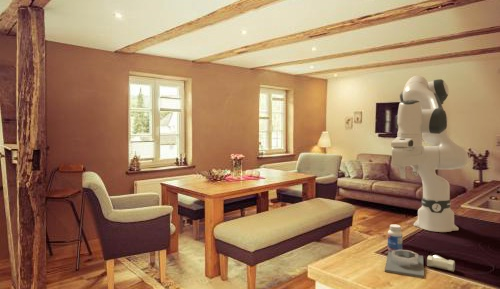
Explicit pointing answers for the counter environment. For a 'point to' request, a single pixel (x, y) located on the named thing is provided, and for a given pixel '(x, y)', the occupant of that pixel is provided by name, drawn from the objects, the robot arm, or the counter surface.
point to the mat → (412, 271)
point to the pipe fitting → (440, 263)
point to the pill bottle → (394, 237)
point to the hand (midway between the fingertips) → (409, 176)
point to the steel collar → (404, 258)
